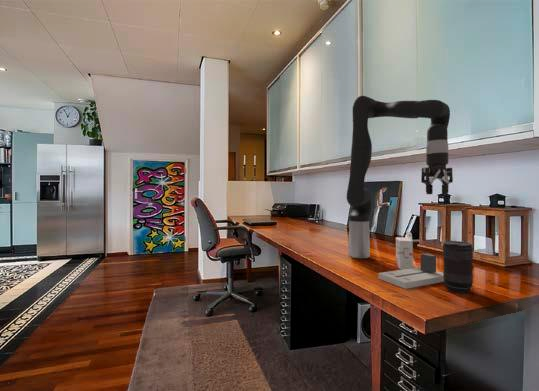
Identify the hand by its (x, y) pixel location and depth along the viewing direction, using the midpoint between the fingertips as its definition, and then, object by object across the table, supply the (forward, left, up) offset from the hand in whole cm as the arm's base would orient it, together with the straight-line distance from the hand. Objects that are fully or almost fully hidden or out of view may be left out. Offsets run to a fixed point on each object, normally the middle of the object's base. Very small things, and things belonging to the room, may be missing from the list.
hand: (437, 194), depth 114 cm
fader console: (+5, -18, -30) cm, 35 cm away
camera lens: (+18, -14, -30) cm, 38 cm away
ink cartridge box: (-9, -8, -30) cm, 33 cm away
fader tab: (+5, -11, -28) cm, 30 cm away
